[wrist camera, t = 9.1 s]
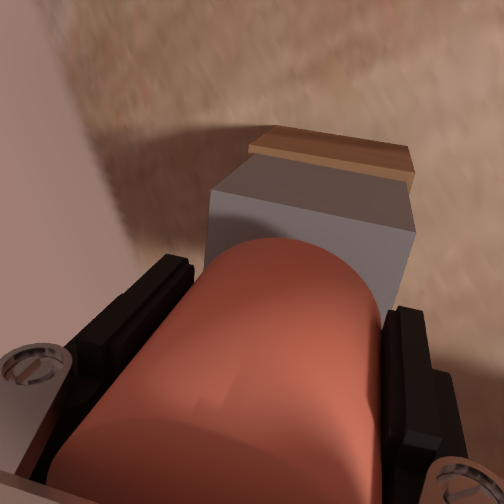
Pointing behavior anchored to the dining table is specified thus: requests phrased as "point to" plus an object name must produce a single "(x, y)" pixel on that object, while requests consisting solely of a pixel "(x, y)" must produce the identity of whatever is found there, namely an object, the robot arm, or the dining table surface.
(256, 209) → the tower top
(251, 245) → the cylinder
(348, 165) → the tower base
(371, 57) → the dining table surface
